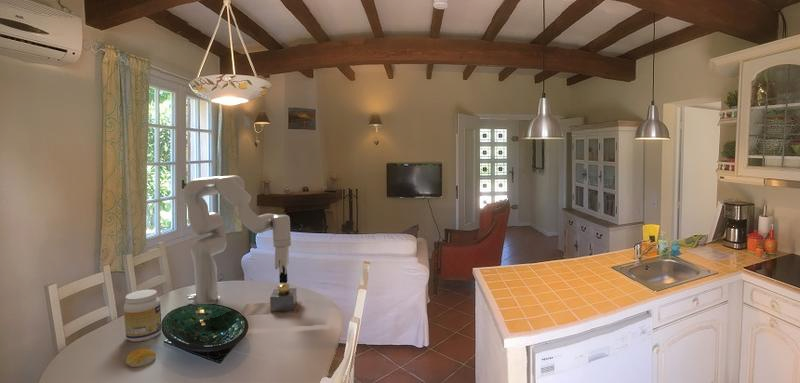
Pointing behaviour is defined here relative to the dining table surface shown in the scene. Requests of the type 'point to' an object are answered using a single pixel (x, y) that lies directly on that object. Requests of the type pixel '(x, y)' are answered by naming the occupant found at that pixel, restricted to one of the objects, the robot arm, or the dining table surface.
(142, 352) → the bread roll
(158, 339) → the dining table surface
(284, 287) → the brass pin
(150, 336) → the supplement tub
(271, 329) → the dining table surface
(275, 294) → the hitch block
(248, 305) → the mount plate
